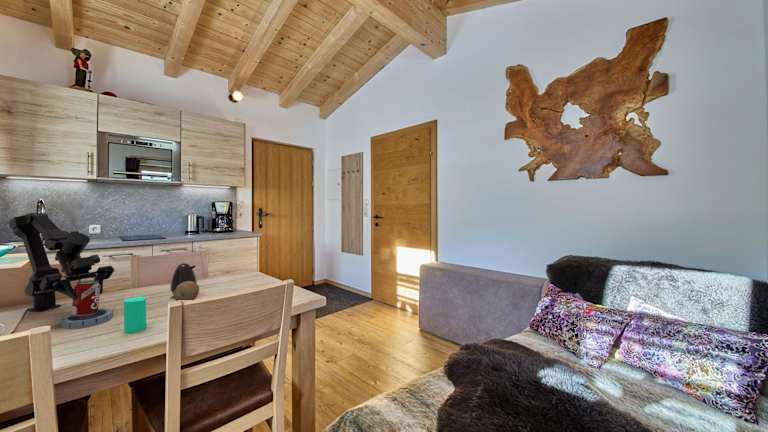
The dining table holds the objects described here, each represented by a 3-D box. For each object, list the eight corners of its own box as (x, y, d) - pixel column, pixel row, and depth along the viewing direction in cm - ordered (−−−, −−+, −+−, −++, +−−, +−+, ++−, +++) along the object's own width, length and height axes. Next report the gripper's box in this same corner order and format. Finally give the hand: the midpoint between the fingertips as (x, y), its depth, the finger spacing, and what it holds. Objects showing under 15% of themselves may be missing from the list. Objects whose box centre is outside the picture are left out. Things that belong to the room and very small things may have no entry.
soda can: (70, 319, 101) (73, 284, 102) (71, 314, 106) (75, 280, 107) (97, 315, 106) (100, 282, 106) (97, 311, 111) (101, 279, 111)
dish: (50, 326, 102) (50, 320, 102) (94, 312, 114) (94, 307, 114) (80, 330, 99) (80, 324, 99) (121, 316, 112) (121, 310, 112)
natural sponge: (181, 309, 120) (180, 285, 119) (168, 305, 124) (168, 282, 123) (203, 303, 128) (203, 280, 127) (191, 299, 132) (191, 277, 131)
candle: (127, 334, 98) (127, 298, 97) (120, 329, 101) (120, 295, 100) (149, 328, 103) (149, 294, 102) (142, 323, 106) (142, 291, 105)
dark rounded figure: (187, 299, 131) (187, 266, 131) (164, 299, 132) (164, 265, 131) (202, 292, 142) (202, 261, 141) (180, 292, 142) (180, 260, 141)
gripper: (43, 252, 98) (62, 289, 95) (111, 245, 116) (129, 276, 112) (31, 272, 101) (49, 309, 98) (99, 262, 119) (116, 293, 116)
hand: (89, 296), depth 106 cm, fingers closed on soda can, 7 cm apart
